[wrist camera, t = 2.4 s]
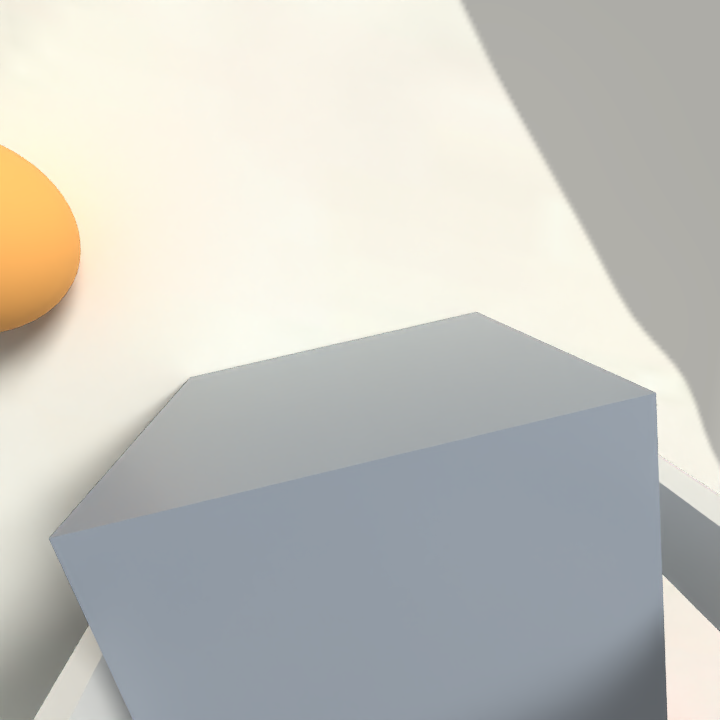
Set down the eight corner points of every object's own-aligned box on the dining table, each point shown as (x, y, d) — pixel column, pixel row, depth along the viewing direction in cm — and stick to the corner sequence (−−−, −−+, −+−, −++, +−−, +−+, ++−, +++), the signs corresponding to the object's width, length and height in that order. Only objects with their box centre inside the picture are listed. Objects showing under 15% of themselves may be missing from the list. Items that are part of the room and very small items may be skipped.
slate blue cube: (510, 551, 19) (670, 805, 10) (267, 613, 19) (229, 927, 10) (476, 311, 16) (655, 392, 8) (190, 377, 16) (48, 538, 7)
